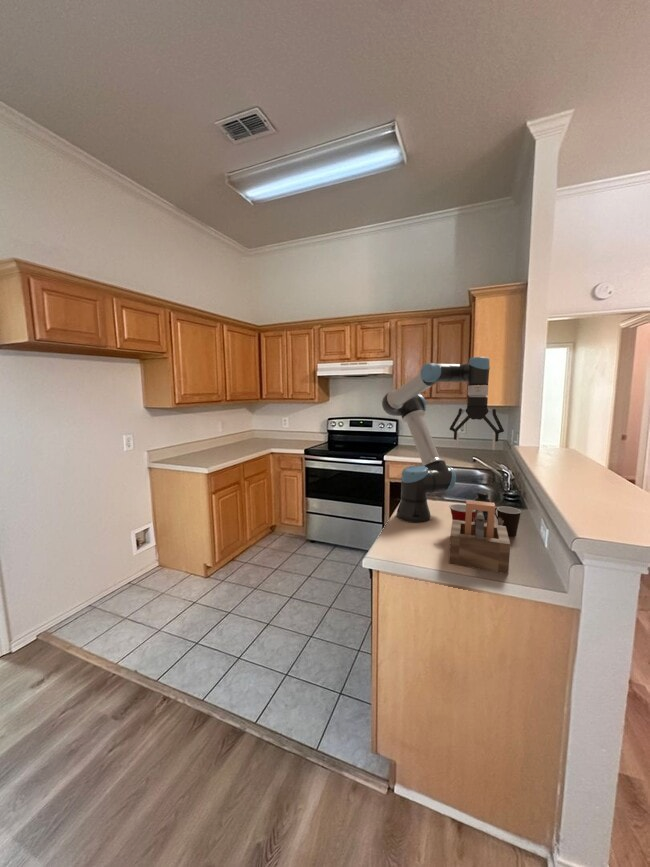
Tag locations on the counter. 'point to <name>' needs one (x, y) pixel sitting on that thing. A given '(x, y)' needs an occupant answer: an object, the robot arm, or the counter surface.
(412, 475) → the robot arm
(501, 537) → the open wooden box
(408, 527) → the counter surface
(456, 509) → the plastic cup
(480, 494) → the supplement bottle
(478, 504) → the block
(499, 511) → the coffee mug
